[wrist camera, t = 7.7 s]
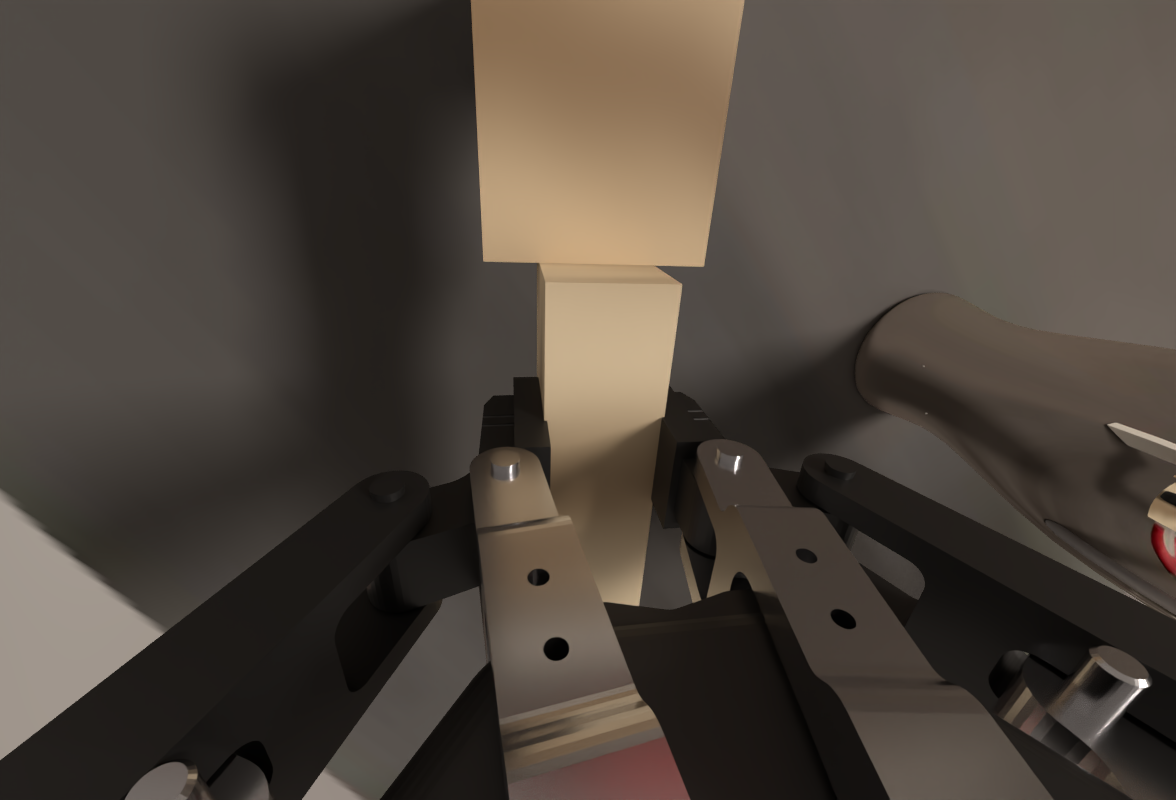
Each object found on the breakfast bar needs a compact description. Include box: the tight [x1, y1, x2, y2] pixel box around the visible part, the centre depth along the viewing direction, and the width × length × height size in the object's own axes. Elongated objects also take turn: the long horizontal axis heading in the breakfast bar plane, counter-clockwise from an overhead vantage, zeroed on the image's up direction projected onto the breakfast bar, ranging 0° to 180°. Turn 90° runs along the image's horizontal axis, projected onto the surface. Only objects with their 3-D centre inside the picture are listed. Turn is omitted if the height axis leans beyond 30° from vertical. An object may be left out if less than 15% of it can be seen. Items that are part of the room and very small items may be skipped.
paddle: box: [471, 0, 744, 606], centre depth 11 cm, size 16×5×3 cm, turn 177°
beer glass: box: [855, 293, 1176, 620], centre depth 16 cm, size 7×7×15 cm
